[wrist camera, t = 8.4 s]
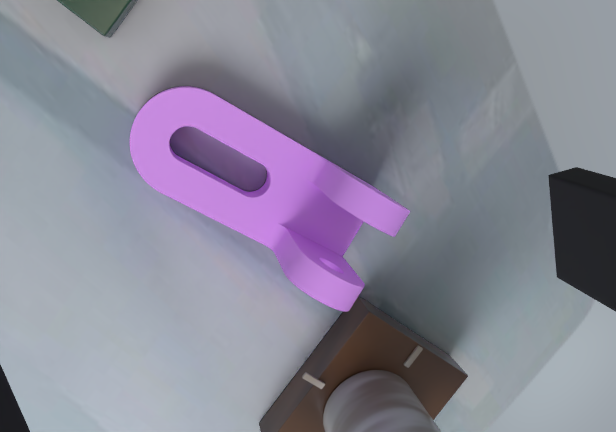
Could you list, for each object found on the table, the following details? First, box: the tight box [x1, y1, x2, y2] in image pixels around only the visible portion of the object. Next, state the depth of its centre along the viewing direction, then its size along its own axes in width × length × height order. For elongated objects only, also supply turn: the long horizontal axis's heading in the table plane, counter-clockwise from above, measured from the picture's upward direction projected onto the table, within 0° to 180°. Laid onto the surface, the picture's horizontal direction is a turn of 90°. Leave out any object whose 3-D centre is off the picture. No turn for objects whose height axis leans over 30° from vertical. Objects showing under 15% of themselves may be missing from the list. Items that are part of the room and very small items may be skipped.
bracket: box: [130, 86, 410, 312], centre depth 28 cm, size 13×6×7 cm, turn 59°
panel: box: [259, 296, 468, 432], centre depth 35 cm, size 10×10×3 cm
